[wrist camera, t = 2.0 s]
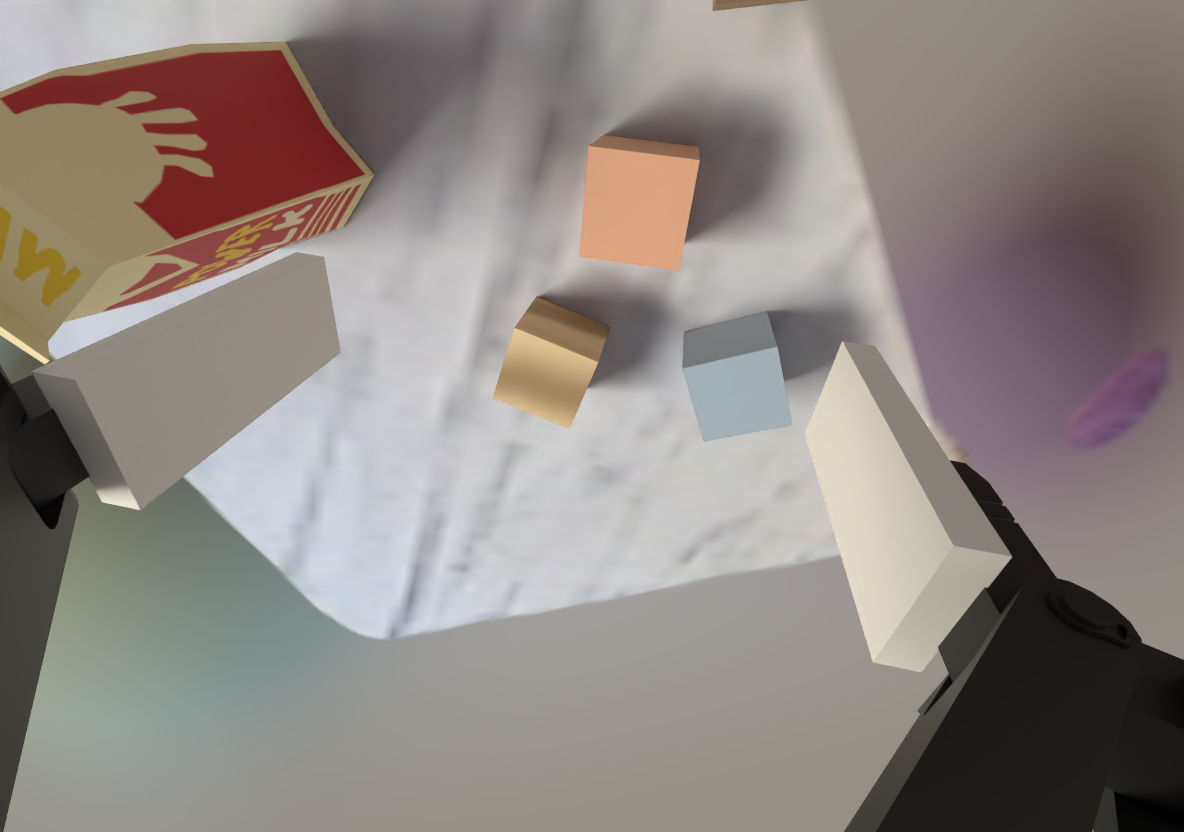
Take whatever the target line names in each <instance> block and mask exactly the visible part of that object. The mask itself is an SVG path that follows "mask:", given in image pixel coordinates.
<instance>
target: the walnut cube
mask: <svg viewBox="0 0 1184 832" xmlns="http://www.w3.org/2000/svg"><path fill="white" fill-rule="evenodd" d="M795 1H804V0H713V11H715V10H724V9H733V8H742V7H751V6H760V5H768V4H777V3H786V2H795Z"/></svg>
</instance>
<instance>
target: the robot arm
mask: <svg viewBox="0 0 1184 832" xmlns="http://www.w3.org/2000/svg"><path fill="white" fill-rule="evenodd" d="M339 353H341V352H340V346H339V340H338V334H337V329H336V323H335V317H334V311H333V306H332V300H331V294H330V288H329V283H328V277H327V271H326V265H325V260H324V257H321V256H315V255H309V254H303V253H297V252H296V253H294V254H292V255H289V256H287V257H285V258H283V259H280V260H278V261H276V262H274V263H272V264H269V265H267V266H265V267H263V268H260V269H258V270H256V271H254V272H252V273H249V274H247V275H245V276H243V277H240V278H238V279H236V280H234V281H231V282H229V283H227V284H225V285H223V286H220V287H218V288H216V289H214V290H211V291H209V292H207V293H205V294H203V295H200V296H198V297H196V298H194V299H191V300H189V301H187V302H185V303H182V304H180V305H178V306H176V307H174V308H171V309H169V310H167V311H165V312H162V313H160V314H158V315H156V316H154V317H151V318H149V319H147V320H145V321H142V322H140V323H138V324H136V325H133V326H131V327H129V328H127V329H125V330H122V331H120V332H118V333H116V334H113V335H111V336H109V337H107V338H105V339H102V340H100V341H98V342H96V343H93V344H91V345H89V346H87V347H84V348H82V349H80V350H78V351H76V352H73V353H71V354H69V355H67V356H64V357H62V358H60V359H58V360H56V361H53V362H51V363H49V364H47V365H45V366H42V367H41V368H38V369H36V370H33V371H31V372H32V374H33V375H31V376H28V377H26V378H24V379H22V380H20V381H17V382H15V383H13V384H11V383H10V381H9V380H8V378H7V376H6V374H5V372H4V371H3V369H2V367H1V365H0V832H3V830H4V826H5V822H6V817H7V813H8V808H9V804H10V800H11V796H12V791H13V787H14V783H15V779H16V774H17V770H18V765H19V761H20V757H21V753H22V748H23V744H24V739H25V735H26V731H27V726H28V722H29V718H30V713H31V709H32V705H33V700H34V696H35V692H36V687H37V683H38V679H39V675H40V671H41V666H42V662H43V658H44V653H45V649H46V644H47V640H48V636H49V632H50V627H51V623H52V619H53V614H54V610H55V606H56V601H57V597H58V593H59V589H60V584H61V580H62V576H63V571H64V567H65V562H66V558H67V554H68V550H69V545H70V541H71V537H72V532H73V528H74V524H75V519H76V515H77V511H78V500H77V497H76V495H75V494H74V492H73V490H72V489H71V488H72V487H74V486H75V485H77V484H78V483H80V482H81V481H83V480H84V479H86V478H87V477H89V479H90V480H91V482H92V484H93V486H94V488H95V490H96V492H97V493H98V495H99V497H100V499H101V500H102V502H105V503H109V504H114V505H119V506H124V507H128V508H133V509H138V510H141V509H142V508H143V507H145V506H146V505H147V504H148V503H150V502H151V501H152V500H153V499H155V498H156V497H157V496H159V495H160V494H161V493H163V492H164V491H165V490H166V489H168V488H169V487H170V486H171V485H173V484H174V483H175V482H176V481H178V480H179V479H180V478H182V477H183V476H184V475H185V474H187V473H188V472H189V471H191V470H192V469H193V468H194V467H196V466H197V465H198V464H199V463H201V462H202V461H203V460H205V459H206V458H207V457H208V456H210V455H211V454H212V453H213V452H215V451H216V450H217V449H218V448H220V447H221V446H222V445H224V444H225V443H226V442H227V441H229V440H230V439H231V438H232V437H234V436H235V435H236V434H238V433H239V432H240V431H241V430H243V429H244V428H245V427H246V426H248V425H249V424H250V423H252V422H253V421H254V420H255V419H257V418H258V417H259V416H260V415H262V414H263V413H264V412H266V411H267V410H268V409H269V408H271V407H272V406H273V405H274V404H276V403H277V402H278V401H280V400H281V399H282V398H283V397H285V396H286V395H287V394H288V393H290V392H291V391H292V390H294V389H295V388H296V387H297V386H299V385H300V384H301V383H302V382H304V381H305V380H306V379H308V378H309V377H310V376H311V375H313V374H314V373H315V372H316V371H318V370H319V369H320V368H322V367H323V366H324V365H325V364H327V363H328V362H329V361H330V360H332V359H333V358H334V357H336V356H337V355H338V354H339ZM805 437H806V440H807V444H808V447H809V450H810V454H811V457H812V460H813V464H814V467H815V470H816V474H817V477H818V480H819V484H820V487H821V490H822V494H823V497H824V500H825V504H826V507H827V510H828V514H829V517H830V520H831V524H832V527H833V530H834V534H835V537H836V540H837V544H838V547H839V550H840V554H841V557H842V560H843V564H844V567H845V570H846V574H847V577H848V580H849V584H850V587H851V590H852V593H853V597H854V601H855V604H856V607H857V610H858V614H859V617H860V621H861V624H862V627H863V630H864V634H865V637H866V640H867V644H868V647H869V651H870V654H871V657H872V661H873V662H875V663H879V664H884V665H888V666H893V667H898V668H903V669H908V670H913V671H918V672H922V671H923V669H924V668H925V667H926V665H927V664H928V663H929V662H930V660H931V659H932V658H933V657H934V655H935V654H936V653H937V651H938V650H939V651H940V654H941V656H942V658H943V661H944V663H945V665H946V668H947V670H948V673H949V674H948V675H947V676H946V677H945V679H944V680H943V681H942V682H941V683H940V685H939V686H938V687H937V688H936V689H935V691H934V692H933V693H932V694H931V695H930V696H929V698H928V699H927V700H926V701H925V702H924V704H923V705H922V706H921V707H920V708H919V709H918V712H919V713H920V715H919V717H918V718H917V720H916V722H915V723H914V725H913V726H912V728H911V729H910V731H909V732H908V734H907V735H906V737H905V738H904V740H903V741H902V743H901V745H900V746H899V748H898V749H897V751H896V752H895V754H894V755H893V757H892V759H891V760H890V762H889V763H888V765H887V766H886V768H885V769H884V771H883V772H882V774H881V775H880V777H879V779H878V780H877V782H876V783H875V785H874V786H873V788H872V789H871V791H870V792H869V794H868V796H867V797H866V799H865V800H864V802H863V804H862V805H861V806H860V808H859V810H858V811H857V813H856V814H855V816H854V817H853V819H852V820H851V822H850V823H849V825H848V826H847V828H846V830H845V831H844V832H1092V830H1094V832H1184V660H1182V659H1180V658H1178V657H1175V656H1173V655H1170V654H1168V653H1165V652H1163V651H1160V650H1158V649H1155V648H1153V647H1151V646H1148V645H1145V644H1143V643H1142V640H1141V638H1140V636H1139V635H1138V633H1137V632H1136V630H1135V629H1134V627H1133V626H1132V624H1131V622H1130V621H1128V620H1127V619H1126V618H1125V617H1124V616H1123V615H1122V614H1121V613H1120V612H1119V611H1118V610H1117V609H1115V608H1114V607H1113V606H1112V605H1111V604H1109V603H1108V602H1106V601H1105V600H1103V599H1102V598H1100V597H1098V596H1097V595H1096V594H1094V593H1093V592H1091V591H1089V590H1087V589H1085V588H1082V587H1080V586H1078V585H1076V584H1074V583H1072V582H1070V581H1066V580H1062V579H1058V578H1056V576H1055V575H1054V573H1053V572H1052V571H1051V569H1050V568H1049V566H1048V565H1047V564H1046V562H1045V561H1044V559H1043V558H1042V557H1041V555H1040V554H1039V552H1038V551H1037V550H1036V548H1035V547H1034V545H1033V544H1032V542H1031V541H1030V540H1029V538H1028V537H1027V535H1026V534H1025V533H1024V531H1023V530H1022V528H1021V527H1020V526H1019V524H1018V523H1014V520H1015V519H1014V517H1013V516H1012V514H1011V513H1010V512H1009V510H1008V509H1007V508H1006V506H1002V503H1003V502H1002V500H1001V499H1000V498H999V496H998V495H997V493H996V492H995V491H994V489H993V488H992V486H991V485H990V484H989V482H988V481H986V480H985V479H984V478H983V477H981V476H980V475H979V474H978V473H977V472H975V471H974V470H973V469H972V468H970V467H969V466H968V465H967V464H966V463H962V462H956V461H950V460H949V459H948V457H947V456H946V454H945V453H944V451H943V450H942V448H941V447H940V445H939V443H938V442H937V440H936V439H935V437H934V436H933V434H932V433H931V431H930V430H929V428H928V427H927V425H926V424H925V422H924V421H923V419H922V417H921V416H920V414H919V413H918V411H917V410H916V408H915V407H914V405H913V404H912V402H911V401H910V399H909V398H908V396H907V394H906V393H905V391H904V390H903V388H902V387H901V385H900V384H899V382H898V381H897V379H896V378H895V376H894V375H893V373H892V371H891V370H890V368H889V367H888V365H887V364H886V362H885V361H884V359H883V358H882V356H881V355H880V353H879V352H878V350H877V349H876V347H875V346H870V345H863V344H857V343H851V342H845V341H842V343H841V346H840V348H839V351H838V353H837V355H836V358H835V360H834V363H833V365H832V368H831V370H830V373H829V375H828V378H827V380H826V383H825V385H824V388H823V390H822V393H821V395H820V398H819V400H818V403H817V405H816V408H815V410H814V413H813V415H812V418H811V420H810V423H809V425H808V428H807V430H806V433H805Z"/></svg>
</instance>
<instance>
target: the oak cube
mask: <svg viewBox="0 0 1184 832" xmlns="http://www.w3.org/2000/svg"><path fill="white" fill-rule="evenodd" d="M609 329H610V327H608V326H606V325H604V324H601V323H599V322H596V321H594V320H592V319H589V318H587V317H585V316H582V315H580V314H577V313H575V312H573V311H570V310H568V309H565V308H563V307H561V306H558V305H556V304H553V303H551V302H549V301H546V300H544V299H541V298H539V297H536V298H535V300H534V301H533V302H532V304H531V305H530V307H529V308H528V309H527V311H526V312H525V314H524V315H523V317H522V318H521V319H520V321H519V322H518V324H517V325H516V326H515V328H514V331H513V335H512V338H511V341H510V344H509V347H508V351H507V354H506V357H505V360H504V363H503V367H502V370H501V373H500V376H499V379H498V383H497V386H496V389H495V392H494V395H493V398H494V399H497V400H499V401H502V402H504V403H507V404H509V405H512V406H514V407H516V408H519V409H521V410H524V411H526V412H529V413H531V414H534V415H536V416H539V417H541V418H544V419H546V420H549V421H551V422H554V423H556V424H559V425H561V426H564V427H566V428H568V429H570V427H571V424H572V422H573V420H574V417H575V415H576V413H577V410H578V408H579V406H580V403H581V401H582V399H583V397H584V394H585V392H586V390H587V387H588V385H589V383H590V380H591V378H592V376H593V373H594V371H595V369H596V367H597V364H598V362H599V359H600V356H601V353H602V350H603V347H604V344H605V341H606V338H607V335H608V332H609Z"/></svg>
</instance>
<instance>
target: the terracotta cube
mask: <svg viewBox="0 0 1184 832" xmlns="http://www.w3.org/2000/svg"><path fill="white" fill-rule="evenodd" d="M699 162H700V155H699V147H697V146H689V145H681V144H673V143H665V142H657V141H649V140H641V139H633V138H625V137H617V136H609V135H603V136H602V137H600V138H599V139H598V140H596V141H595V142H593V143H592V144H591V145H589V147H588V159H587V172H586V184H585V196H584V209H583V221H582V234H581V246H580V257H586V258H593V259H600V260H607V261H614V262H621V263H628V264H635V265H642V266H649V267H656V268H663V269H670V270H677V271H679V269H680V264H681V258H682V253H683V247H684V242H685V237H686V231H687V226H688V221H689V215H690V210H691V205H692V199H693V194H694V189H695V183H696V178H697V173H698V167H699Z"/></svg>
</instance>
